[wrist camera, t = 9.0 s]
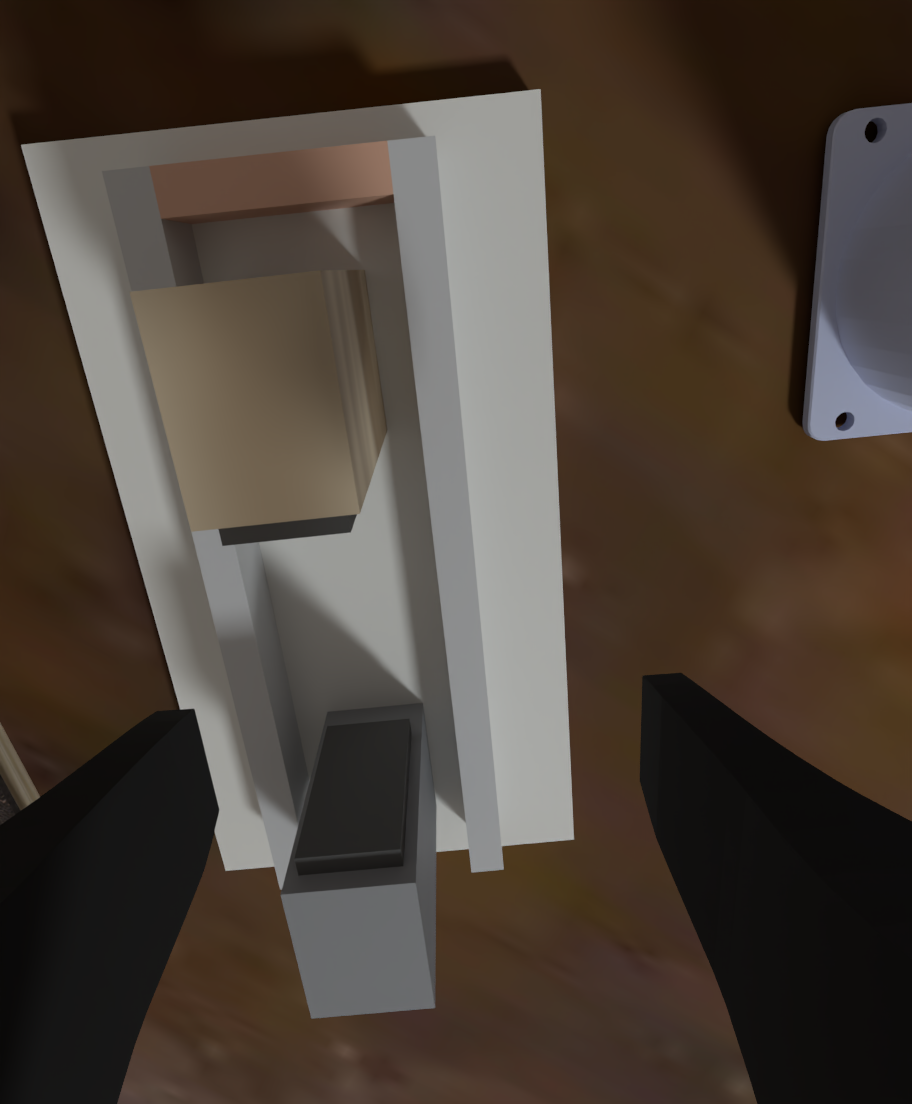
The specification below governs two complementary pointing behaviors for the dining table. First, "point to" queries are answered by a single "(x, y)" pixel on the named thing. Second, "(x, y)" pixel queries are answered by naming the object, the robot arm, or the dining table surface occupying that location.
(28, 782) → the hardcover book
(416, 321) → the rail
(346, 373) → the block
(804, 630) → the dining table surface
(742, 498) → the dining table surface
